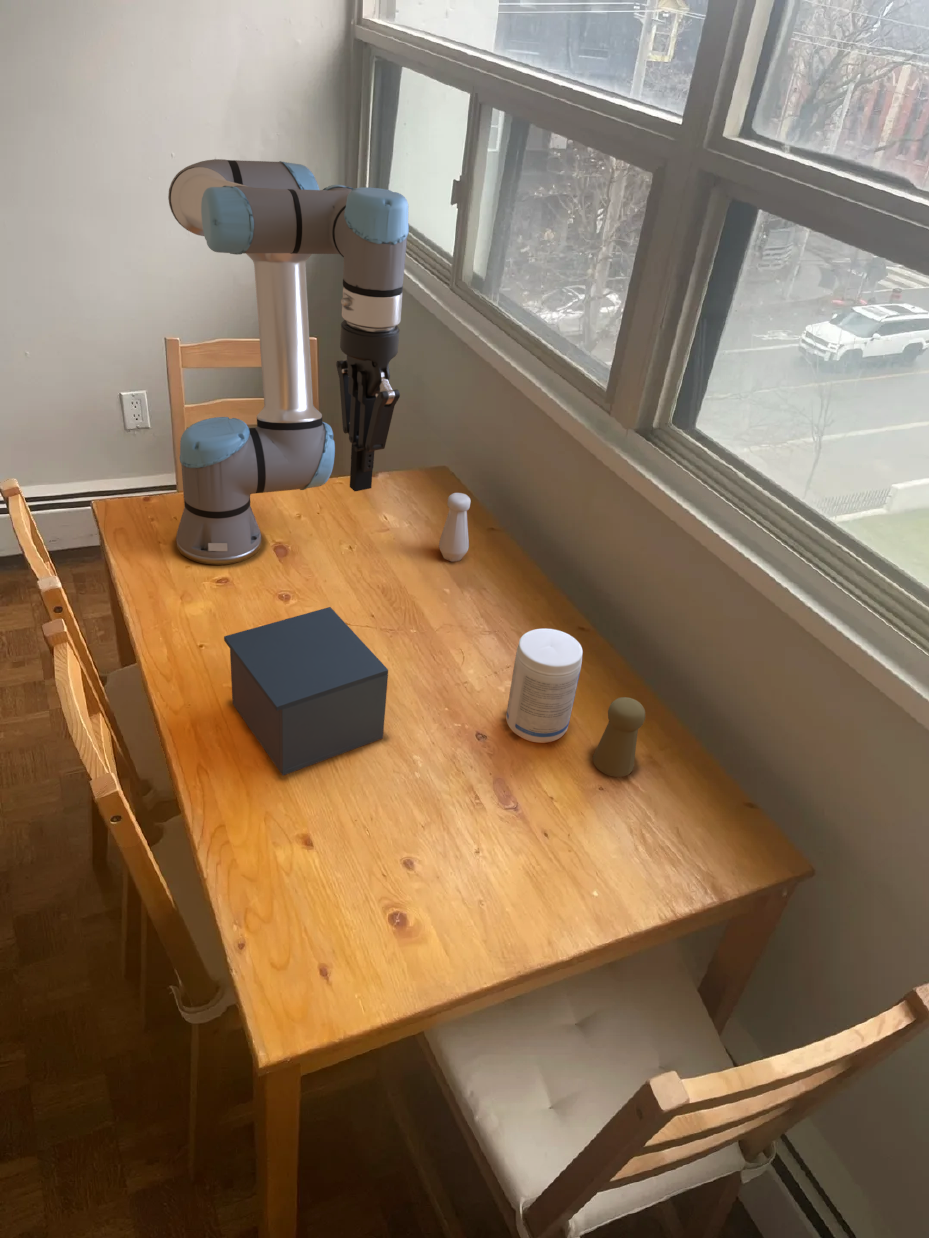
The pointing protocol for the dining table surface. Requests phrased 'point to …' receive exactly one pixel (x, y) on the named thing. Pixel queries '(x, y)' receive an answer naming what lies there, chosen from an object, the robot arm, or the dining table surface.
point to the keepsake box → (310, 720)
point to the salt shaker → (455, 528)
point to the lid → (304, 657)
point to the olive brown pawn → (619, 738)
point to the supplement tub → (543, 685)
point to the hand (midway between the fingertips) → (360, 487)
